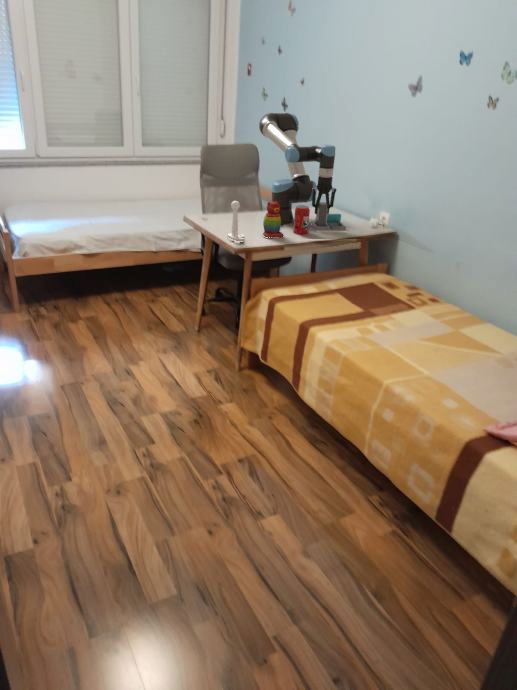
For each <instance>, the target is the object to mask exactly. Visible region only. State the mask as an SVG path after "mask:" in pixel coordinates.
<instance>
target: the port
mask: <svg viewBox="0 0 517 690" xmlns="http://www.w3.org/2000/svg"><path fill="white" fill-rule="evenodd" d="M341 219H342V214H341V213H329V214H327V220H326V223H327V224H328V225H329V226H330V229H331V230H346V229H347V226H346V225H345V224H344V223H342V222H341V221H342V220H341ZM346 231H347V230H346Z"/></svg>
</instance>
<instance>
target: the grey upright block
mask: <svg viewBox="0 0 517 690" xmlns="http://www.w3.org/2000/svg"><path fill="white" fill-rule="evenodd" d="M327 206H328V205H327V204H326V201H325V202H324V201H323V202H322V201H320V203H319V206H318V208H319V217H318V220H316V219H315V222H316V225H317V226H325V225H326V215H327Z"/></svg>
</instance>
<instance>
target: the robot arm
mask: <svg viewBox="0 0 517 690" xmlns="http://www.w3.org/2000/svg"><path fill="white" fill-rule="evenodd" d="M258 125H259V126H258V129H259V132H260V133H261V134H262V135H263V136H264V137H265V138H266V139H269V140H271V142H273V143H274V144H275V145H276V147H277V148H279V149H280V150H281V151H282V152H283V154H284V158H285V161H286V163H287V168H288V170H289V175H290V178H291V179H290V178H289V179H288V178H286V179H283V178H281V179H278V180H275V181H274V182H273V183H272V187H271V202H276V201H278V202H279V206H280V211H279V212H278V213H279V214H280V218H281V226H284V225H290V224H294V214H293V209H292V207H293V206H292V205H293V204H298V203H299V204H301V203H302V204H303V203H308V202H311V206H312V207H313V208H314V214H315V221H316V220H318V217H319V208H318V206H319V203H320V202H321V200H322V197H323V195H325V203H326V204H327V205H328V206H327V214H330V209H331V208H333V207H334V202H335V196H336V193H337V188H336V187H333V176H334V167H335V159H336V158H335V157H336V146H335V145H333V144H323V145H321V146H319V145H310V146H299V145H298V141H297V134H298V131H299V129H300V128H299V126H300V125H299V120H298V118H297V116H296V115H295V114H294V113H290V112H284V113H283V112H279V113H278V112H277V113H276V112H269V113H266V114H265V115H263V116H262V118H260V121H259V123H258ZM309 162H310V163H312V162H316V163H319V167H318V168H319V169H318V178H317V183H316V182H315V181H314V180H311V178H310V175H309V174H307V173H306V170H305V167H304V163H309ZM317 191H318V195H317ZM330 192H331V194H330ZM316 197H317V198H316ZM326 220H327V215H326Z"/></svg>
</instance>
